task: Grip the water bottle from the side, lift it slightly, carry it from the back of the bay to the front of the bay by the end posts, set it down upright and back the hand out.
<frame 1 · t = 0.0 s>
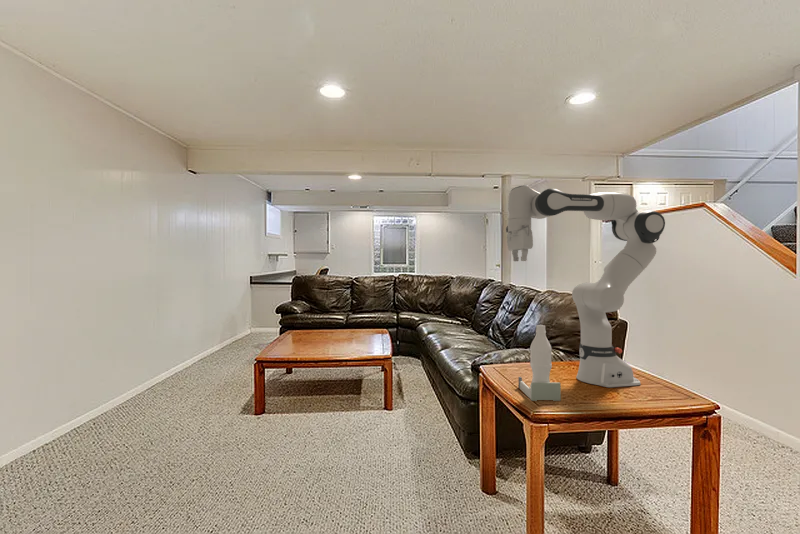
hand: (519, 261, 148), 48 cm above the table, tool pointing down, fingers open, 8 cm apart
water bottle: (540, 396, 131), resting in bay
bay: (538, 393, 134), on the table
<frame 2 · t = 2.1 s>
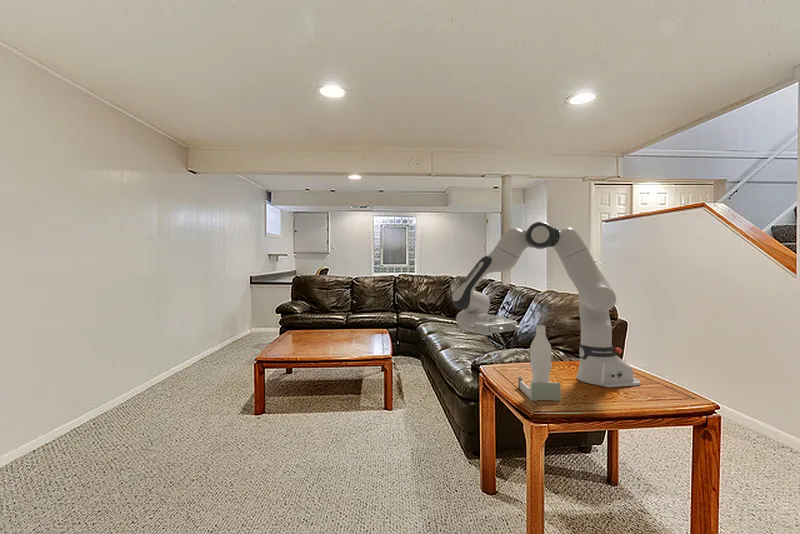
hand: (510, 329, 145), 21 cm above the table, tool horizontal, fingers open, 8 cm apart
nothing on the table moved.
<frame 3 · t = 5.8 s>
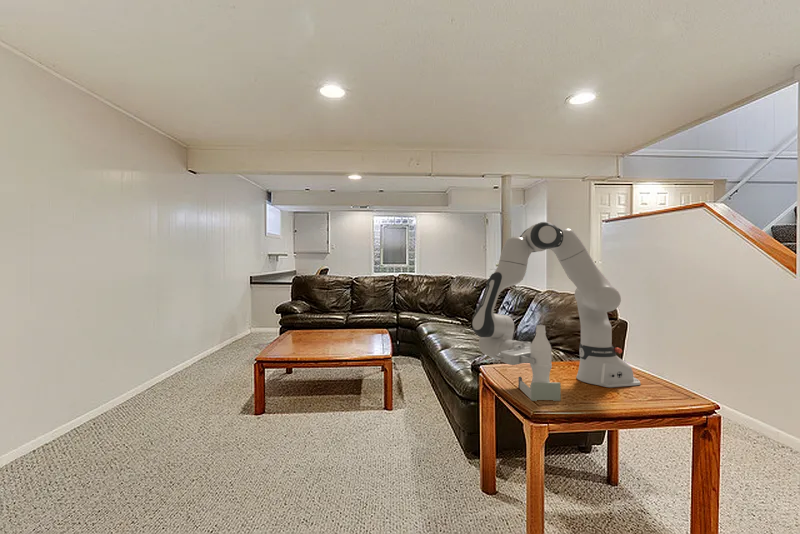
hand: (542, 359, 131), 13 cm above the table, tool horizontal, fingers closed on water bottle, 7 cm apart
water bottle: (540, 396, 131), resting in bay, touching gripper
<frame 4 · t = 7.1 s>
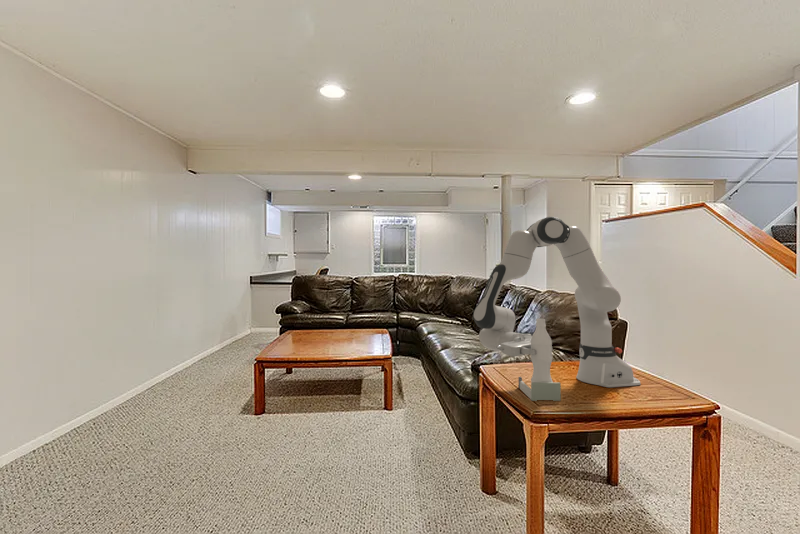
hand: (543, 351, 130), 16 cm above the table, tool horizontal, fingers closed on water bottle, 7 cm apart
water bottle: (541, 389, 131), point 2 cm above the table, touching gripper
when the fingers open (15 cm above the table, at t = 9.6 s): water bottle stays where it is, resting in bay.
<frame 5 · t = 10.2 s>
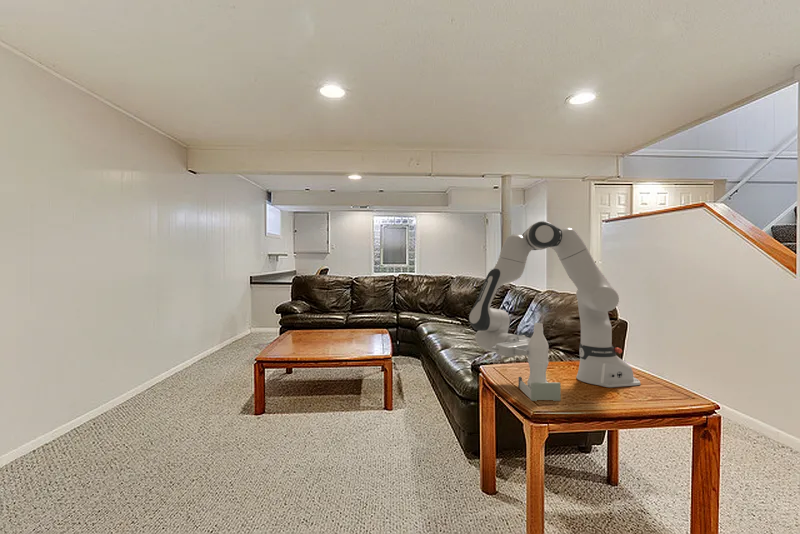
hand: (536, 351, 136), 15 cm above the table, tool horizontal, fingers open, 8 cm apart
water bottle: (537, 391, 136), resting in bay
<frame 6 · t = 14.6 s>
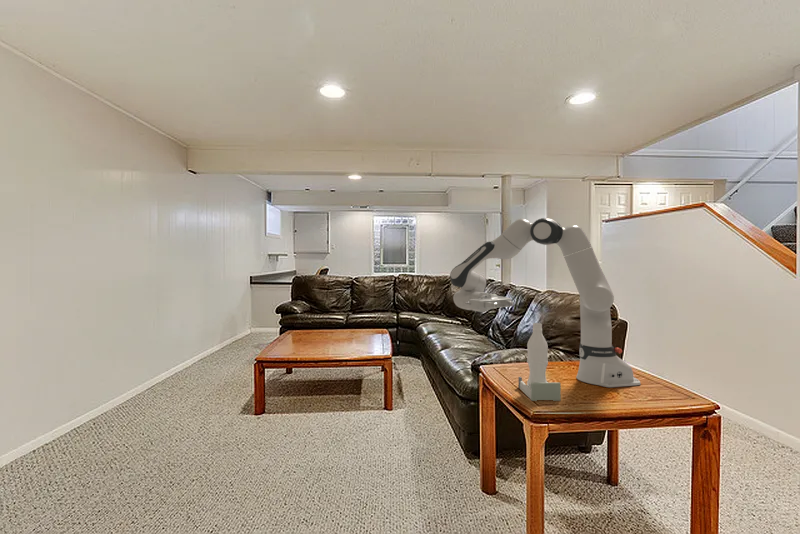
hand: (503, 304, 154), 30 cm above the table, tool horizontal, fingers open, 8 cm apart
nothing on the table moved.
at the end: water bottle 1.5 cm from the target spot, resting in bay; water bottle tilted 0°; the gripper is holding nothing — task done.
